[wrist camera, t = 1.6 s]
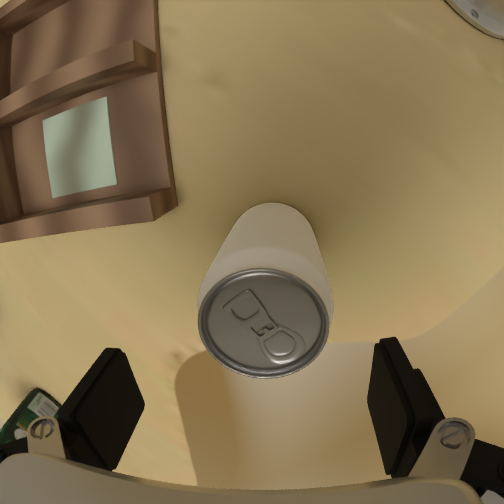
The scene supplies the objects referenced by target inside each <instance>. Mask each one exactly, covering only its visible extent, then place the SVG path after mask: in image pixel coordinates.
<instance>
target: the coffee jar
mask: <svg viewBox="0 0 504 504" xmlns="http://www.w3.org/2000/svg"><path fill="white" fill-rule="evenodd" d="M60 408H61V406H60V405H59V404H58V403H57V402H56V401H55V400H53V399H52V398H51V397H49V396H47V395H46V394H44V393H42V392H41V391H39V390H33V391H31V392H30V393H29V394H28V395H27V396H26V398H25V399H24V400H23V401H22V402H21V404H20V405H19V406H18V408H17V409H16V410H15V411H14V413H13V414H12V415H11V417H10V418H9V419H8V420H7V422H6V423H5V424H4V425H3V427H2V428H1V429H0V445H2V444H5V443H8V442H11V441H14V440H17V439H20V438H23V437H26V436H27V429H28V427H29V425H30V424H31V422H32V421H34V420H35V419H36V418H39V417H41V416H51V417H54V418H55V419H56V420H57V419H58V418H59V416H58V415H57V412H58V410H59V409H60Z"/></svg>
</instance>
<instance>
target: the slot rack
mask: <svg viewBox="0 0 504 504" xmlns="http://www.w3.org/2000/svg"><path fill="white" fill-rule="evenodd" d="M176 206H178V203H177V196H176V190H175V183H174V176H173V169H172V161H171V154H170V146H169V138H168V129H167V120H166V111H165V101H164V91H163V80H162V68H161V55H160V41H159V23H158V0H10V1H9V2H7V3H6V4H5V5H3V6H2V7H1V8H0V243H4V242H10V241H16V240H22V239H28V238H34V237H41V236H47V235H54V234H60V233H67V232H74V231H81V230H88V229H96V228H103V227H111V226H118V225H126V224H134V223H143V222H151V221H155V220H156V219H158V218H159V217H161V216H162V215H164V214H165V213H167V212H169V211H170V210H172V209H173V208H175V207H176Z"/></svg>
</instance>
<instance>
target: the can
mask: <svg viewBox="0 0 504 504" xmlns="http://www.w3.org/2000/svg"><path fill="white" fill-rule="evenodd" d="M333 310H334V304H333V295H332V290H331V286H330V282H329V279H328V275H327V272H326V269H325V265H324V262H323V259H322V256H321V253H320V250H319V247H318V244H317V241H316V238H315V235H314V232H313V230H312V227H311V225H310V224H309V222H308V221H307V219H306V218H305V217H304V216H303V215H302V214H301V213H300V212H299V211H297V210H296V209H294V208H292V207H290V206H288V205H285V204H281V203H263V204H259V205H256V206H254V207H252V208H250V209H249V210H247V211H246V212H245V213H243V214H242V215H241V216H240V217H239V219H238V220H237V221H236V223H235V224H234V226H233V227H232V229H231V231H230V232H229V234H228V236H227V237H226V239H225V241H224V243H223V244H222V246H221V248H220V250H219V251H218V253H217V255H216V257H215V258H214V260H213V262H212V264H211V265H210V267H209V269H208V271H207V273H206V275H205V277H204V279H203V281H202V284H201V287H200V290H199V294H198V330H199V334H200V337H201V340H202V342H203V344H204V346H205V347H206V349H207V350H208V352H209V353H210V354H211V355H212V357H214V359H215V360H217V361H218V362H219V363H220V364H221V365H223V366H224V367H226V368H228V369H230V370H232V371H233V372H236V373H238V374H241V375H244V376H248V377H253V378H262V379H263V378H264V379H267V378H268V379H269V378H278V377H283V376H287V375H290V374H293V373H295V372H298V371H300V370H301V369H303V368H305V367H306V366H308V365H309V364H310V363H311V362H312V361H314V360H315V358H316V357H317V356H318V355H319V354H320V352H321V351H322V349H323V348H324V346H325V344H326V341H327V338H328V334H329V327H330V325H331V322H332V318H333Z"/></svg>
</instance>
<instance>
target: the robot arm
mask: <svg viewBox="0 0 504 504" xmlns="http://www.w3.org/2000/svg"><path fill="white" fill-rule="evenodd" d="M446 1H447V2H448V3H449V4H450V6H451V7H452V8H453V9H454V10H455V11H456V12H457V13H459V14H460V15H461V16H462V17H463V18H464V19H465V20H467V21H468V22H469V23H471V24H472V25H473V26H475V27H476V28H478V29H479V30H481V31H483V32H484V33H486V34H488V35H491V36H493V37H495V38H499V39H504V0H446ZM367 403H368V408H369V411H370V415H371V418H372V422H373V425H374V430H375V433H376V437H377V441H378V445H379V449H380V453H381V457H382V461H383V465H384V469H385V473H386V475H390V474H391V477H392V479H386V480H380V481H372V482H365V483H358V484H350V485H342V486H332V487H320V488H308V489H288V490H242V489H221V488H208V487H198V486H190V485H182V484H174V483H167V482H161V481H155V480H150V479H144V478H139V477H134V476H129V475H125V474H121V473H116V472H112V470H114V469H116V467H117V465H118V463H119V461H120V459H121V457H122V455H123V452H124V450H125V448H126V446H127V444H128V442H129V440H130V438H131V435H132V433H133V431H134V429H135V427H136V425H137V423H138V421H139V418H140V416H141V414H142V412H143V410H144V406H145V403H144V400H143V397H142V395H141V392H140V390H139V387H138V385H137V383H136V380H135V378H134V375H133V372H132V370H131V367H130V364H129V362H128V359H127V356H126V354H125V353H124V352H122V350H121V349H119V348H106V349H105V350H104V351H103V352H102V353H101V355H100V356H99V357H98V359H97V360H96V361H95V362H94V364H93V365H92V366H91V368H90V369H89V370H88V372H87V373H86V374H85V375H84V377H83V378H82V379H81V381H80V382H79V383H78V385H77V386H76V387H75V389H74V390H73V391H72V393H71V394H70V395H69V397H68V398H67V400H66V401H65V402H64V404H63V405H62V406H61V408H60V409H59V410H58V412H57V415H58V416H59V418H58V419H57V420H56V419H55V418H54V417H51V416H41V417H39V418H36V419H35V420H34V421H32V422H31V424H30V425H29V427H28V429H27V436H26V437H23V438H20V439H17V440H14V441H11V442H8V443H5V444H2V445H0V504H504V448H501V447H498V446H495V445H492V444H489V443H486V442H483V441H480V440H477V439H475V430H474V428H473V427H472V425H471V424H470V423H469V422H468V421H466V420H464V419H461V418H456V417H453V418H447V419H445V417H444V415H443V412H442V411H441V409H440V407H439V405H438V402H437V401H436V399H435V397H434V395H433V393H432V391H431V389H430V387H429V385H428V383H427V381H426V379H425V377H424V376H423V374H422V372H421V371H420V369H418V368H417V369H413V368H412V366H411V364H410V362H409V360H408V358H407V356H406V354H405V352H404V351H403V349H402V347H401V345H400V343H399V341H398V339H397V338H396V337H390V338H383V339H380V341H379V343H376V344H375V346H374V355H373V362H372V370H371V377H370V384H369V390H368V396H367Z"/></svg>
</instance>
